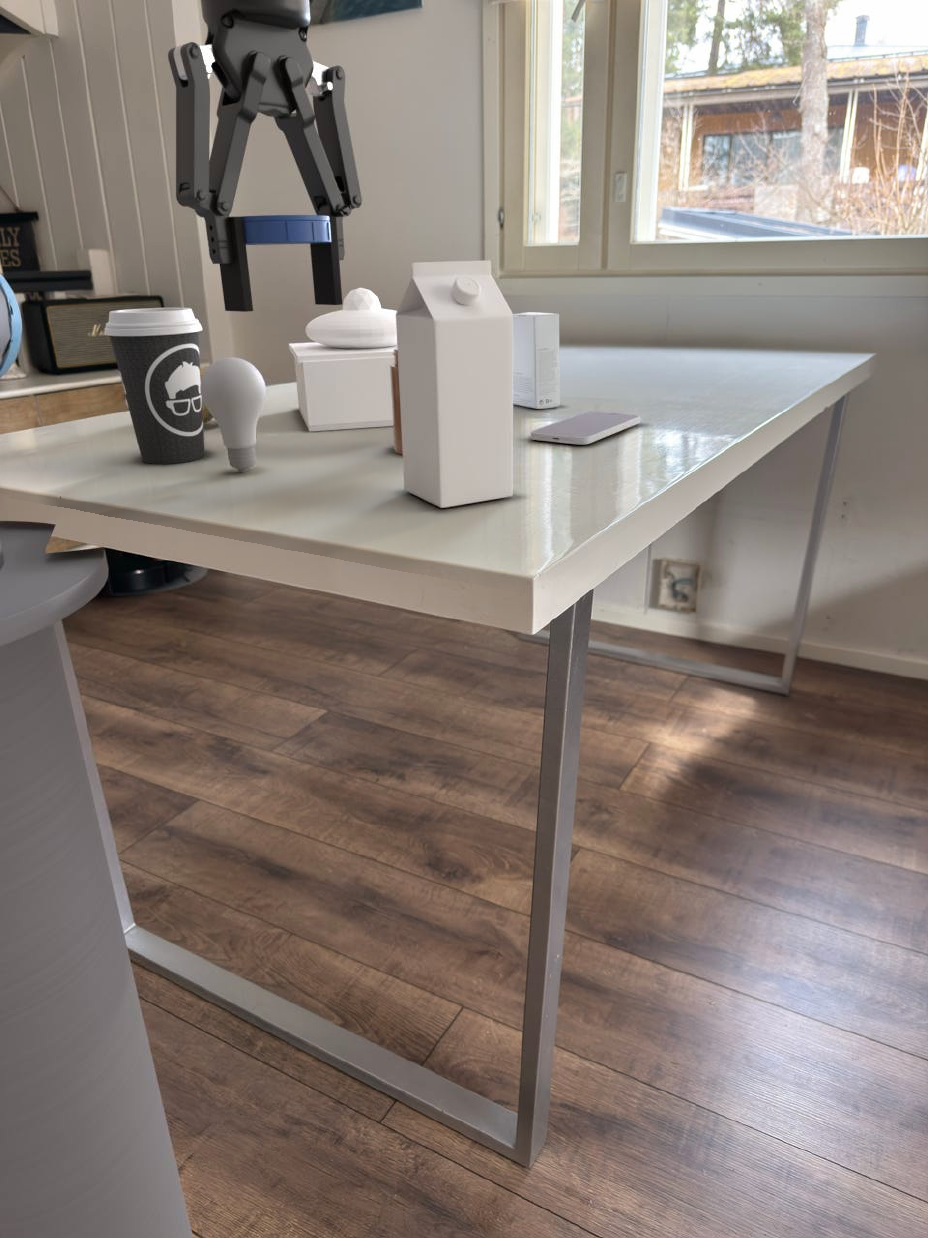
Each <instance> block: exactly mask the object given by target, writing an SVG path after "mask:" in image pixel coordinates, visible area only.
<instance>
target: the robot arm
mask: <svg viewBox="0 0 928 1238" xmlns="http://www.w3.org/2000/svg"><path fill="white" fill-rule="evenodd" d="M200 5H201V6H200V7H201V15H202V19H203V22H204V23H205V25H206V26H207V27H206V28H207V32H206V33H207V34H206V39H205V41H204V44H201V45H199V44H198V43H196V42H193V41H190V42H187V43H184V44H181V45H178V46H176V47H173V48H170V49H169V50H168V52H167V58H168V63H169V67H170V70H171V74H172V78H173V82H174V85H175V199H176V201H177V203H178V204H179V205H180V206H181V207H183V208H184V207H185V208H187V207H188V208H190V209H192V210H194V213H195V214H196V215H197V216H198V217H200V218H203V219H204V224H205V230H206V231H205V233H206V239H207V246H208V247H207V248H208V254H209V259H210V261H211V263H212V264H213V265H219V271H220V279H221V287H222V288H221V289H222V294H223V295H222V296H223V303H224V304H223V305H224V311H225V312H239V313H240V312H244V313H247V312H254V304H253V296H252V287H251V280H250V279H251V278H250V269H249V261H248V252H247V251H248V250H247V245H246V242H245V233H244V224H243V217H240V216H230V214H231V213H232V210H233V207H234V202H235V198H236V194H237V188H238V183H239V180H240V176H241V171H242V166H243V163H244V158H245V153H246V148H247V144H248V140H249V136H250V131H251V126H252V124H253V122H254V121H255V120H256V119H257V116H258V114H259V113H260V114H262V115H264V116H266V117H270V118H273V119H274V122H275V124H276V126H277V128H278V129H279V130H280V131H282V133H283V134H284V136H285V139H286V141H287V144H288V147H289V149H290V152H291V155H292V157H293V159H294V161H295V164H296V167H297V169H298V172H299V174H300V177H301V179H302V182H303V184H304V187H305V189H306V192H307V195H308V198H309V199H310V202H311V204H312V207H313V210H314V212H315V215H323V216H329V218H330V221H329V222H330V231H331V242H330V243H313V244H309V249H310V258H311V261H310V262H311V270H312V282H313V283H312V284H313V293H314V305H316V306H317V305H318V306H319V305H320V306H321V305H322V306H341V305H342V306H343V303H344V302H343V291H342V277H341V266H340V265H341V264H340V263H341V262H340V261H344V260H345V259H344V258H345V254H346V252H345V241H344V237H345V236H344V226H343V225H344V223H343V220H344V218H345V217H349V216H350V215H351V213H352V210H355V209H359V208H361V206H362V204H363V198H362V197H363V196H362V193H361V192H362V191H361V186H360V182H359V181H360V180H359V176H358V170H357V166H356V160H355V152H354V148H353V142H352V138H351V132H350V127H349V121H348V116H347V110H346V104H345V95H346V94H345V91H346V72H345V69H344V68H343V67H342V66H341V65H333V66H330V67H328V66H326V65H324V64H321V63H318V62H316V61H314V56H313V54H312V52H311V50H310V47H309V44H308V32H309V26H310V24H311V8H310V0H200ZM212 73H213V74H214V75H215V77H216V79H217V80H218V81H219V84H220V85H221V91H220V96H219V98H218V99H219V100H218V104H217V109H216V117H217V119H218V120H217V123H216V130H215V133H214V138H213V143H212V148H211V152H210V143H211V142H210V141H211V140H210V137H211V136H210V133H211V132H210V131H211V130H210V129H211V86H210V78H211V76H212ZM308 85H309V86H308ZM307 87H308V89H307ZM307 90H308V92H307ZM308 93H309V94H308ZM309 95H310V96H312V102H311V100H310V97H309ZM315 124H316V125H315ZM19 306H20V305H19V303H18V301H17V298H16V295H15V293H14V291H13V289H12V287H11V286H10V284H9V283H8V281H7V279H6V278H5V277H4V276H3V275H2V274H1V273H0V379H1V378H3V376H5V374H7V372H8V371H9V370H10V368H11V367H12V366H13V364H14V362H15V361H16V359H17V357H18V354H19V352H20V348H21V342H22V334H23V319H22V316H21V309H20V307H19ZM3 565H4V556H3V551H2V547H1V543H0V569H1V568H2V567H3Z"/></svg>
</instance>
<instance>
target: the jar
mask: <svg viewBox="0 0 928 1238" xmlns="http://www.w3.org/2000/svg"><path fill="white" fill-rule="evenodd" d="M393 355H394V363H393V364H390V378H391V397H392V415H393V426H392V430H393V432H392V433H393V450H394V452H395V453H396V454H398V455H402V456H403V449H402V429H401V409H400V389H399V369H398V349H397V348H394V352H393Z"/></svg>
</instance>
